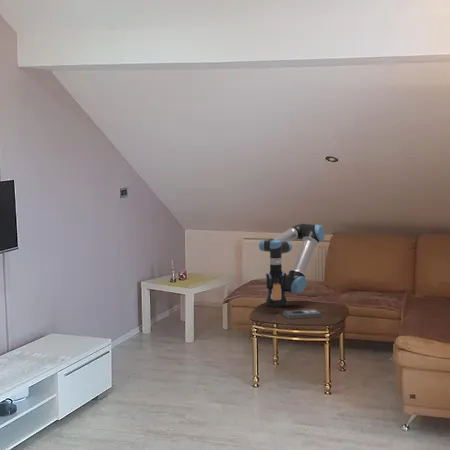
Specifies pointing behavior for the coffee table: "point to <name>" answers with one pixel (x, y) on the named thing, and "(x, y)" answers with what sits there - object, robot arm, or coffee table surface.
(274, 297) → the charger
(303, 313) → the power strip
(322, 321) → the coffee table surface
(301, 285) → the robot arm
